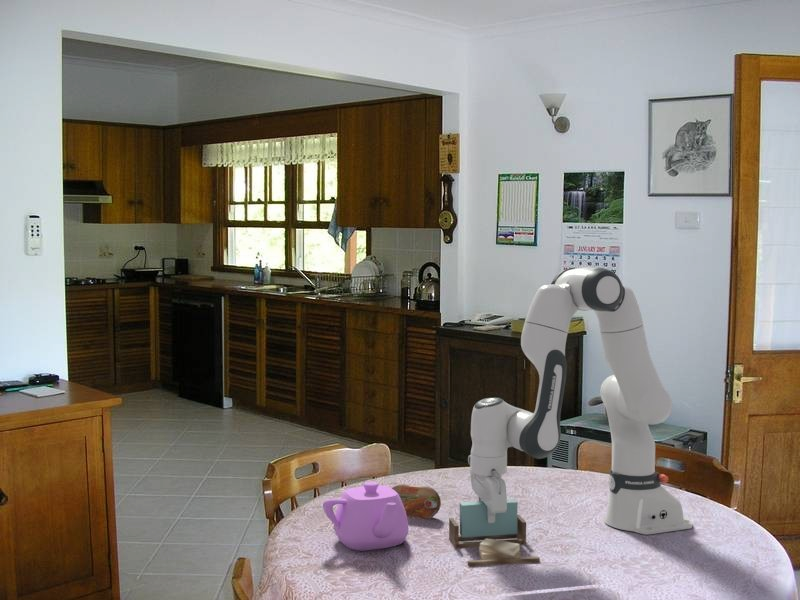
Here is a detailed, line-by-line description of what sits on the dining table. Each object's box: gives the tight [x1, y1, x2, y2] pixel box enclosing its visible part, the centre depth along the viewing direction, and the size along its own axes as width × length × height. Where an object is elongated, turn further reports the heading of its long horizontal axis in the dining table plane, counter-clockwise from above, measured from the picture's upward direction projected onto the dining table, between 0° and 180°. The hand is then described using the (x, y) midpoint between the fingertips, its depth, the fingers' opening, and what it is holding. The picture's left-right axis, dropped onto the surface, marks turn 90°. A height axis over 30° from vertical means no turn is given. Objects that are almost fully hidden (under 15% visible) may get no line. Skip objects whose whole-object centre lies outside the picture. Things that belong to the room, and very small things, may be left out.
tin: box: [391, 483, 442, 520], centre depth 240 cm, size 15×3×8 cm, turn 68°
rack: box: [448, 513, 541, 567], centre depth 213 cm, size 18×18×6 cm
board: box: [459, 498, 518, 538], centre depth 218 cm, size 14×2×8 cm, turn 100°
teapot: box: [322, 481, 409, 552], centre depth 215 cm, size 23×21×15 cm
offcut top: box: [479, 538, 521, 556], centre depth 209 cm, size 8×4×2 cm, turn 63°
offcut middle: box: [478, 546, 522, 560], centre depth 209 cm, size 9×5×2 cm, turn 94°
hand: (488, 519), depth 218 cm, fingers closed on board, 2 cm apart
